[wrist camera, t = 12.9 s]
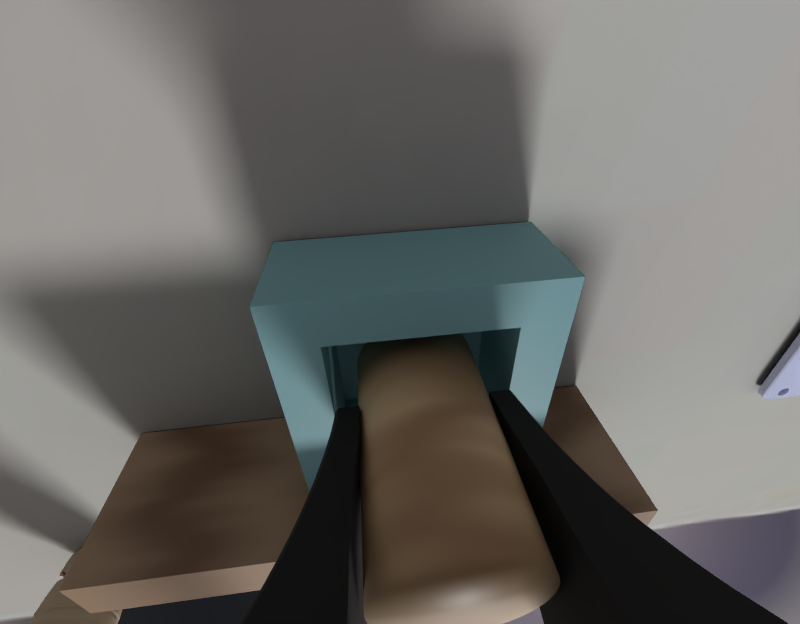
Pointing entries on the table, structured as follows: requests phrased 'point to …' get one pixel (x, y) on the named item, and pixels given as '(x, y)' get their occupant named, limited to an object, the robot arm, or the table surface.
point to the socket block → (411, 314)
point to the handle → (69, 607)
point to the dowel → (442, 493)
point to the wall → (252, 507)
